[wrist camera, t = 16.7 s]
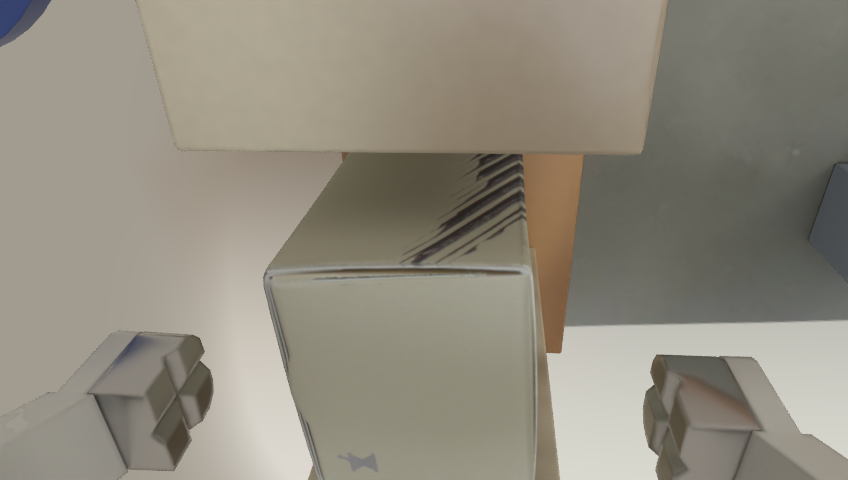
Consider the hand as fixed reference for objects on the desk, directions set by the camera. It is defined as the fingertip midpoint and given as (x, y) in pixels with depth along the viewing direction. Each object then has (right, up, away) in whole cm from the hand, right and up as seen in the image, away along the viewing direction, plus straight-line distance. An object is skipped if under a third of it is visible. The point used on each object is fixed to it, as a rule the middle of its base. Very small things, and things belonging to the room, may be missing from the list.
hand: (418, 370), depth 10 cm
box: (+1, +6, +11) cm, 12 cm away
